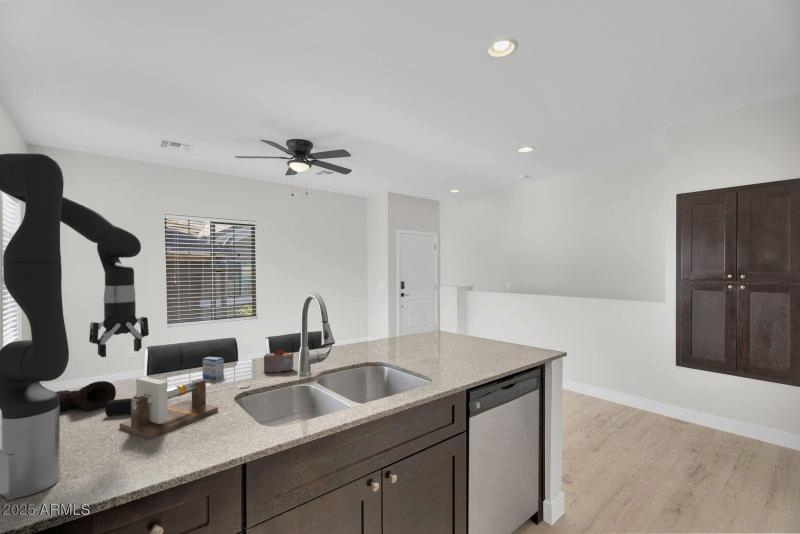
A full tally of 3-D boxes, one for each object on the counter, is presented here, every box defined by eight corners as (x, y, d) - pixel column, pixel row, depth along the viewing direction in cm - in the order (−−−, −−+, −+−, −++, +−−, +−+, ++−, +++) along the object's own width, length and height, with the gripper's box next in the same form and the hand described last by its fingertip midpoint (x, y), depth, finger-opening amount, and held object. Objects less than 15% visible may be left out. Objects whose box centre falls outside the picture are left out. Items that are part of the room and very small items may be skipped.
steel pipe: (137, 411, 107) (137, 400, 107) (130, 409, 109) (130, 398, 109) (205, 388, 127) (205, 379, 127) (199, 387, 128) (199, 378, 128)
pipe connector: (122, 390, 131) (169, 387, 134) (123, 405, 131) (169, 401, 134) (105, 403, 120) (156, 398, 123) (105, 418, 120) (156, 414, 123)
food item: (294, 368, 177) (294, 348, 177) (293, 372, 169) (292, 351, 169) (265, 369, 175) (265, 349, 174) (262, 374, 167) (262, 353, 167)
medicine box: (202, 377, 162) (202, 358, 162) (210, 374, 166) (210, 356, 166) (216, 379, 160) (216, 359, 160) (224, 376, 164) (223, 357, 164)
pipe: (44, 389, 126) (63, 387, 119) (96, 379, 139) (116, 378, 132) (44, 418, 124) (63, 418, 118) (96, 405, 138) (116, 405, 131)
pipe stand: (149, 438, 104) (149, 404, 104) (119, 428, 112) (119, 395, 112) (217, 411, 124) (217, 382, 124) (188, 403, 131) (188, 376, 131)
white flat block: (159, 423, 109) (158, 384, 109) (136, 416, 114) (136, 378, 114) (167, 420, 111) (167, 381, 111) (145, 413, 116) (144, 376, 116)
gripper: (95, 303, 101) (96, 361, 101) (152, 298, 113) (152, 350, 113) (85, 301, 105) (86, 357, 105) (141, 297, 117) (141, 347, 117)
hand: (120, 353), depth 109 cm, fingers open, 8 cm apart
